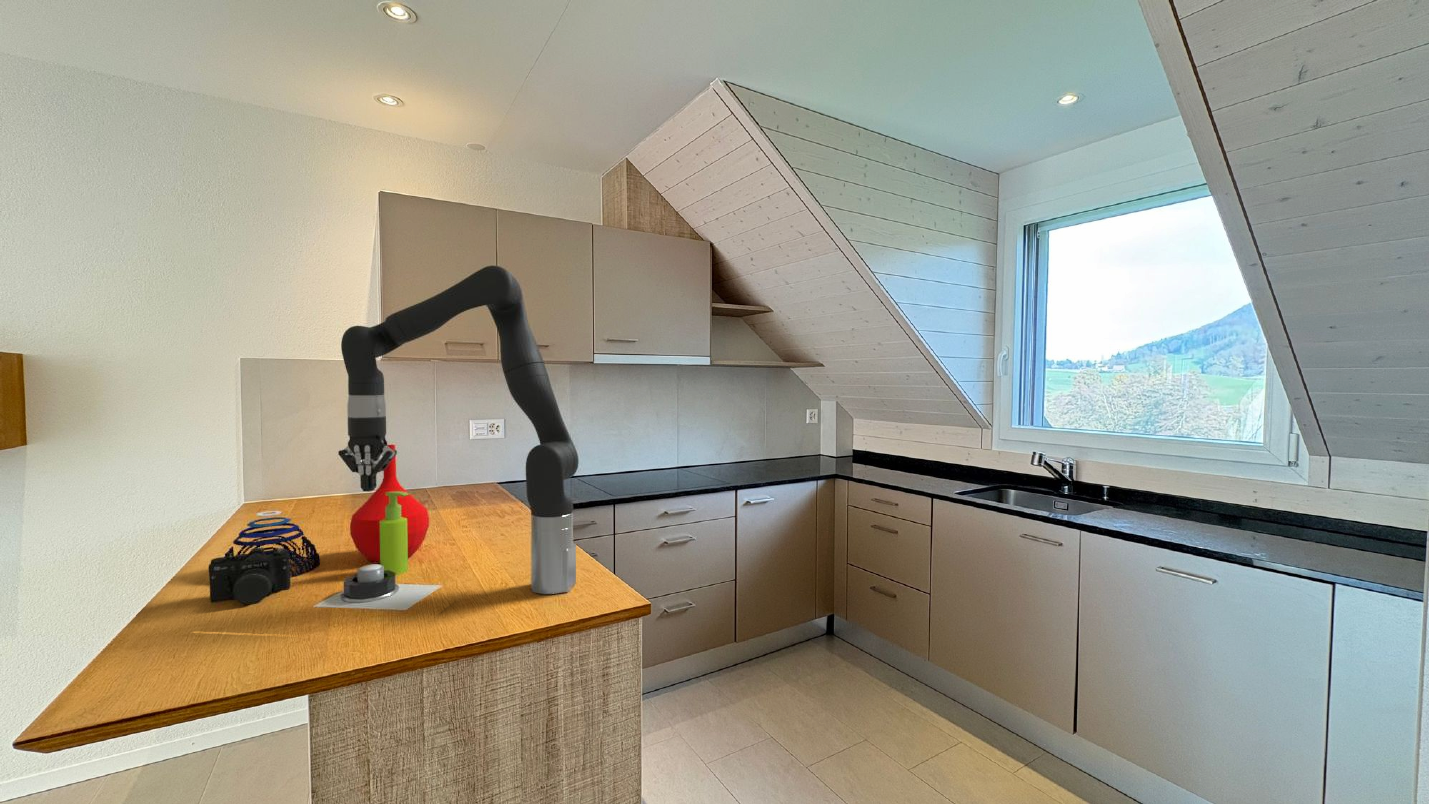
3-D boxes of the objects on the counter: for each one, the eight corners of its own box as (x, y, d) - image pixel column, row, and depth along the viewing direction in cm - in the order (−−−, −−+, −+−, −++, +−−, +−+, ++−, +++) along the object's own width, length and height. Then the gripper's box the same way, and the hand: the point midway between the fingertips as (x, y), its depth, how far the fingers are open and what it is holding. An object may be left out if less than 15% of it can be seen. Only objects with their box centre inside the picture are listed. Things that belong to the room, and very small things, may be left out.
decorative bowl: (216, 592, 130) (214, 528, 129) (216, 569, 145) (215, 511, 145) (324, 573, 143) (322, 514, 142) (313, 554, 158) (312, 501, 158)
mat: (442, 587, 134) (442, 585, 134) (405, 611, 120) (405, 609, 120) (358, 584, 135) (358, 582, 135) (312, 608, 121) (312, 606, 121)
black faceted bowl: (409, 585, 134) (409, 570, 133) (378, 603, 123) (378, 587, 122) (363, 583, 134) (362, 568, 134) (328, 602, 123) (327, 585, 123)
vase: (356, 573, 142) (353, 451, 141) (345, 555, 157) (343, 444, 155) (437, 559, 154) (435, 446, 152) (420, 543, 168) (419, 440, 167)
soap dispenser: (399, 578, 139) (398, 495, 138) (374, 576, 140) (373, 493, 140) (417, 570, 145) (415, 490, 144) (392, 568, 146) (391, 489, 145)
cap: (388, 587, 131) (388, 563, 130) (374, 595, 126) (374, 571, 125) (367, 586, 131) (366, 563, 131) (352, 594, 126) (351, 570, 126)
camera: (199, 614, 118) (198, 565, 117) (213, 597, 127) (212, 551, 127) (285, 602, 125) (283, 555, 124) (292, 586, 134) (291, 543, 133)
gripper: (404, 414, 136) (406, 488, 137) (350, 413, 137) (352, 487, 138) (384, 416, 129) (386, 494, 129) (327, 415, 129) (329, 493, 130)
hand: (368, 490), depth 134 cm, fingers closed
